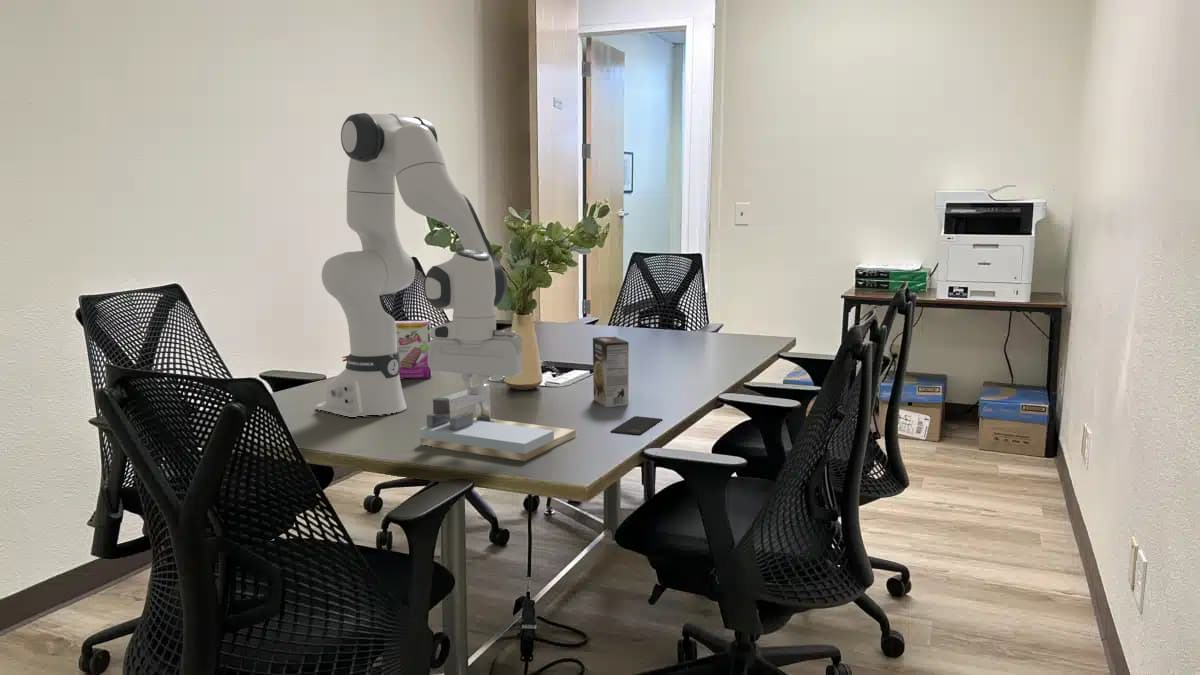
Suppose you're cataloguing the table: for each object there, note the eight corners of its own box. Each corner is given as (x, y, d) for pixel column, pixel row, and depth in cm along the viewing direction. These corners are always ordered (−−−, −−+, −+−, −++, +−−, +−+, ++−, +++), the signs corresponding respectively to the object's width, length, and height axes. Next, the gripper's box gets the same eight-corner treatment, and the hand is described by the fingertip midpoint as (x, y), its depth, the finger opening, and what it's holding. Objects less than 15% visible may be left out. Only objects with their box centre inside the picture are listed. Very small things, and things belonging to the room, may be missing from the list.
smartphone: (633, 418, 208) (609, 434, 194) (633, 414, 208) (609, 430, 194) (663, 421, 205) (641, 438, 191) (663, 417, 205) (641, 434, 191)
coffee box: (592, 399, 226) (591, 337, 223) (615, 397, 228) (615, 335, 226) (605, 407, 217) (604, 342, 215) (629, 405, 220) (629, 341, 217)
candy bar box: (392, 380, 253) (389, 323, 250) (394, 376, 258) (391, 320, 255) (431, 378, 254) (429, 322, 252) (433, 375, 259) (430, 319, 257)
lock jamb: (420, 445, 186) (419, 417, 185) (477, 423, 203) (476, 397, 202) (525, 461, 174) (524, 431, 173) (575, 436, 191) (575, 409, 190)
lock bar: (481, 418, 201) (480, 382, 199) (493, 419, 199) (492, 384, 198) (430, 436, 185) (429, 398, 184) (443, 438, 184) (442, 400, 182)
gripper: (527, 329, 183) (527, 394, 185) (437, 324, 188) (438, 387, 191) (515, 334, 177) (516, 401, 179) (423, 328, 182) (424, 394, 185)
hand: (475, 394), depth 185 cm, fingers closed
